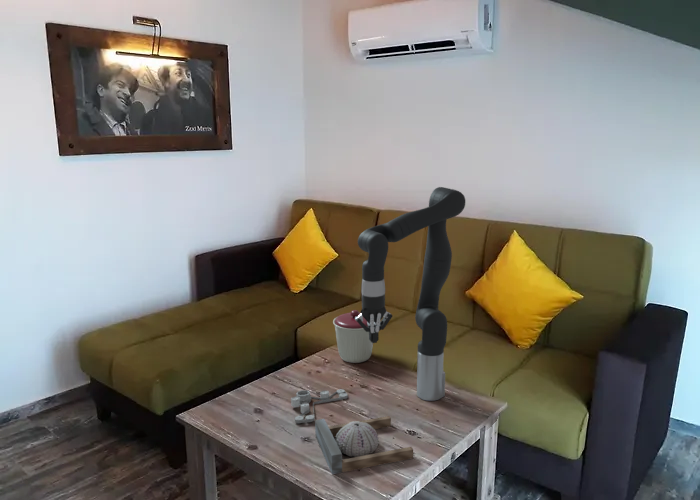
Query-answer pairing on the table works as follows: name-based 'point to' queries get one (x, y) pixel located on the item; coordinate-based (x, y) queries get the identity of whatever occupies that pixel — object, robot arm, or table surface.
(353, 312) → the canister
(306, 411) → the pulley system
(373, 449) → the sea urchin shell
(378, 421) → the track
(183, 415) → the table surface
